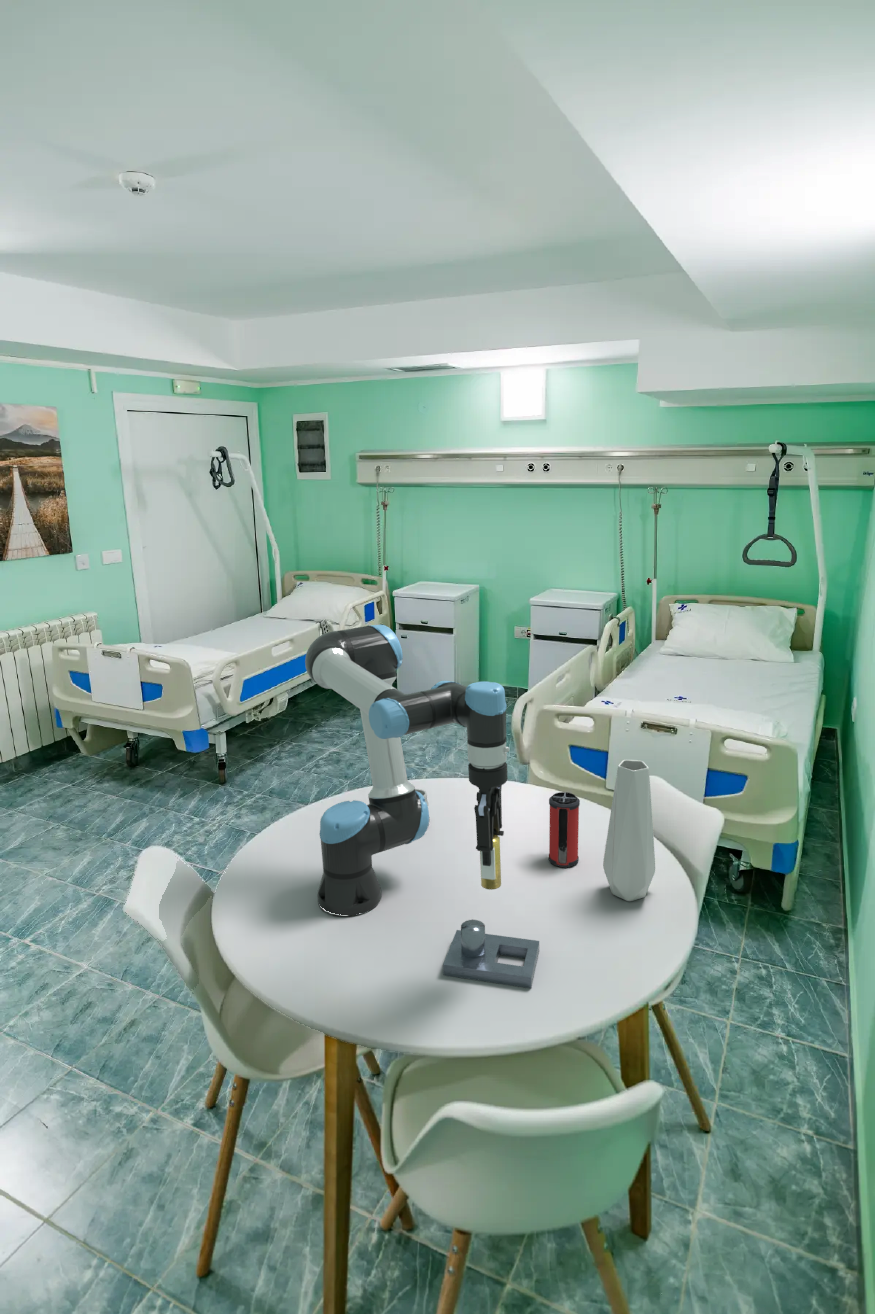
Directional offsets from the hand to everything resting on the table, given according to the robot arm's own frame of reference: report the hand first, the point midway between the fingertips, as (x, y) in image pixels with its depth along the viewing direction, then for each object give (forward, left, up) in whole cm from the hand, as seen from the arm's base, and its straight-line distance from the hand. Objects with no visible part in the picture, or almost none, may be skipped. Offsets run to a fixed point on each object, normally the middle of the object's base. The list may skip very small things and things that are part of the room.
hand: (491, 872), depth 151 cm
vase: (+26, +34, -22) cm, 48 cm away
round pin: (0, 0, -3) cm, 3 cm away
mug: (-35, +57, -22) cm, 70 cm away
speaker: (+10, +45, -22) cm, 51 cm away
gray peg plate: (0, +1, -22) cm, 22 cm away
